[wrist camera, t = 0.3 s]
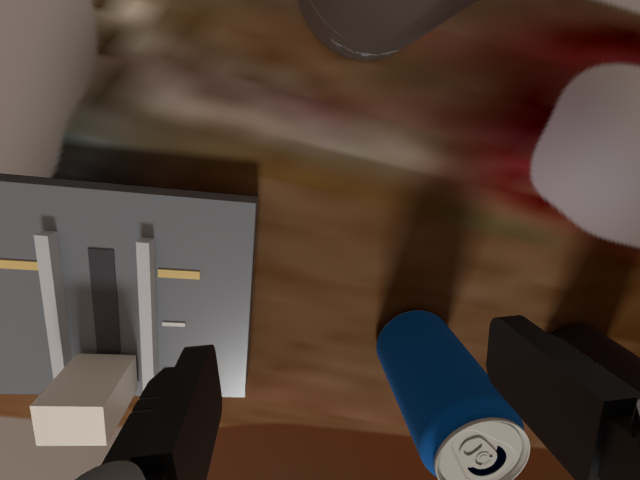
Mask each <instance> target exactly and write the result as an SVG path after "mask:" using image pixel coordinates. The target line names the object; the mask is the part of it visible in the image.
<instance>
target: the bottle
mask: <svg viewBox="0 0 640 480" xmlns="http://www.w3.org/2000/svg"><path fill="white" fill-rule="evenodd" d="M552 335H555V336H557V337H559V338H561V339H564V340H565V341H566V342H568V343H569V344H571V345H572V346H574V347H575V348H577V349H578V350H579V351H580V353H584V354H585V355H587V356H588V357H590V358H591V359H592V360H593V362H594V363H598V364H600V365H601V366H602V367H604V368H605V369H607V370H608V371H610V372H611V373H613V374H614V375H615V376H617V377H618V378H620V379H621V380H623V381H624V382H626V383H627V384H628V385H630V386H631V387H633V388H634V389H636V390H637V391H639V392H640V358H639V357H638V356H636V355H635V354H633V353H632V352H630V351H629V350H627V349H626V348H624V347H622V346H621V345H619V344H618V343H616V342H615V341H613V340H612V339H610V338H609V337H607V336H605V335H604V334H602V333H601V332H599V331H598V330H596V329H595V328H593V327H591V326H586V325H581V324H578V325H570V326H567V327H565V328H562V329H560V330H558V331H556V332H555V333H553V334H552Z"/></svg>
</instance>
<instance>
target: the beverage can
mask: <svg viewBox="0 0 640 480" xmlns="http://www.w3.org/2000/svg"><path fill="white" fill-rule="evenodd" d="M377 354H378V357H379V360H380V362H381V365H382V367H383V369H384V372H385V374H386V376H387V379H388V381H389V384H390V386H391V388H392V391H393V393H394V395H395V398H396V400H397V403H398V405H399V407H400V410H401V412H402V415H403V417H404V419H405V422H406V424H407V426H408V429H409V431H410V434H411V436H412V438H413V441H414V443H415V445H416V447H417V450H418V452H419V455H420V457H421V459H422V462H423V464H424V465H425V466H426V468H427V469H428V470H429V471H430V472H431V473H432V474H433V475H435V476H436V477H437V478H438V480H513V479H514V478H515V477H516V476H518V474H519V473H520V472H521V471H522V469H523V468H524V466H525V465H526V463H527V461H528V458H529V454H530V442H529V439H528V436H527V435H526V433H525V431H524V425H523V422H522V419H521V417H520V416H519V415H518V414H517V413H516V412H515V410H514V409H513V408H512V407H511V406H510V405H509V404H508V402H507V401H506V400H505V399H504V398H503V397H502V396H501V394H500V393H499V392H498V391H497V390H496V389H495V388H494V386H493V385H492V383H491V381H490V379H489V377H488V374H487V373H486V372H485V371H484V370H483V368H482V367H481V366H480V365H479V364H478V362H477V361H476V360H475V359H474V358H473V356H472V355H471V354H470V353H469V352H468V350H467V349H466V348H465V347H464V346H463V344H462V343H461V342H460V341H459V340H458V338H457V337H456V336H455V335H454V333H453V332H452V331H451V330H450V329H449V327H448V326H447V325H446V324H445V323H444V321H443V320H442V319H441V318H440V317H438V316H437V315H435V314H433V313H431V312H428V311H423V310H414V311H408V312H405V313H402V314H400V315H398V316H396V317H394V318H393V319H392V320H390V321H389V322H388V323H387V324H386V325H385V326H384V328H383V329H382V331H381V332H380V335H379V337H378V340H377Z"/></svg>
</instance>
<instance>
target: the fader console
mask: <svg viewBox="0 0 640 480" xmlns="http://www.w3.org/2000/svg"><path fill="white" fill-rule="evenodd" d="M257 208H258V197H257V196H246V195H235V194H223V193H212V192H201V191H190V190H179V189H168V188H156V187H145V186H134V185H123V184H112V183H101V182H89V181H78V180H67V179H56V178H43V177H33V176H22V175H11V174H0V394H41V393H42V392H43V391H44V390H45V389H46V387H47V386H48V385H49V384H50V383H51V382H52V381H53V380H54V378H55V377H56V376H57V375H58V374H59V373H60V372H61V371H62V370H63V368H64V367H65V366H66V365H67V364H68V363H69V362H70V361H71V360H72V358H73V357H74V356H75V355H76V354H112V355H136V368H137V387H138V389H137V391H136V393H135V394H134V396H141V394H142V392H143V390H144V388H145V387H146V385H147V383H148V382H149V381H150V380H151V379H152V378H153V377H154V376H155V375H156V374H158V373H159V372H160V371H161V370H162V369H163V368H169V367H175V365H176V363H177V361H178V359H179V357H180V354H181V352H182V350H183V349H184V347H190V346H200V345H210V344H213V345H214V347H215V351H216V357H217V364H218V371H219V378H220V385H221V392H222V397H245V391H246V384H247V375H248V358H249V341H250V325H251V308H252V291H253V275H254V258H255V241H256V224H257Z"/></svg>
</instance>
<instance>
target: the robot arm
mask: <svg viewBox="0 0 640 480" xmlns="http://www.w3.org/2000/svg"><path fill="white" fill-rule="evenodd" d="M477 1H479V0H298V2H299V5H300V9H301V12H302V14H303V16H304V18H305V20H306V22H307V24H308V26H309V27H310V29H311V30H312V31H313V33H314V34H315V35H316V37H317V38H318V39H319V40H320V41H321V42H322V43H324V44H325V45H326V46H327V47H328V48H329V49H331V50H332V51H334V52H336V53H338V54H340V55H342V56H344V57H348V58H351V59H355V60H375V59H380V58H385V57H387V56H389V55H391V54H393V53H396V52H398V51H399V50H401V49H403V48H404V47H406V46H407V45H409V44H410V43H412V42H414V41H415V40H417V39H419V38H420V37H422V36H424V35H425V34H427V33H428V32H430V31H431V30H433V29H435V28H436V27H438V26H439V25H441V24H442V23H444V22H446V21H447V20H449V19H450V18H452V17H453V16H455V15H457V14H458V13H460V12H461V11H463V10H464V9H466V8H468V7H469V6H471V5H472V4H474V3H475V2H477ZM486 368H487V373H488V377H489V379H490V381H491V383H492V385H493V386H494V388H495V389H496V390H497V391H498V392H499V393H500V394H501V396H502V397H503V398H504V399H505V400H506V401H507V402H508V404H509V405H510V406H511V407H512V408H513V409H514V410H515V412H516V413H517V414H518V415H519V416H520V417H521V419H522V420H523V421H524V422H525V423H526V424H527V425H528V427H529V428H530V429H531V430H532V431H533V432H534V433H535V435H536V436H537V437H538V438H539V439H540V440H541V441H542V443H543V444H544V445H545V446H546V447H547V448H548V449H549V451H550V452H551V453H552V454H553V455H554V456H555V457H556V458H557V460H558V461H559V462H560V463H561V464H562V465H563V467H564V468H565V469H566V470H567V471H568V472H569V473H570V475H571V476H572V477H573V478H574V479H575V480H640V392H639V391H637V390H636V389H634V388H633V387H631V386H630V385H628V384H627V383H626V382H624V381H623V380H621V379H620V378H618V377H617V376H615V375H614V374H613V373H611V372H610V371H608V370H607V369H605V368H604V367H602V366H601V365H600V364H598V363H594V362H593V360H592V359H591V358H590V357H588V356H587V355H585V354H584V353H580V351H579V350H578V349H577V348H575V347H574V346H572V345H571V344H569V343H568V342H566V341H565V340H564V339H561V338H559V337H557V336H555V335H552V334H550V333H548V332H545V331H543V330H542V329H541V328H539V327H538V326H536V325H535V324H533V323H532V322H531V321H529V320H528V319H526V318H525V317H523V316H521V315H516V316H506V317H496V318H493V319H492V321H491V323H490V328H489V340H488V351H487V362H486ZM221 412H222V392H221V385H220V378H219V371H218V364H217V357H216V351H215V347H214V345H213V344H210V345H200V346H190V347H184V349H183V350H182V352H181V354H180V357H179V359H178V361H177V363H176V365H175V367H169V368H163V369H162V370H161V371H160V372H159V373H158V374H156V375H155V376H154V377H153V378H152V379H151V380H150V381H149V382H148V383H147V385H146V387H145V388H144V390H143V392H142V394H141V396H140V400H138V401H137V403H136V404H135V406H134V408H133V410H132V413H131V414H130V415H129V417H128V419H127V420H126V422H125V424H124V426H123V427H122V429H121V431H120V433H119V434H118V437H117V438H116V440H115V442H114V443H113V445H112V447H111V449H110V450H109V452H108V454H107V456H106V457H105V459H104V461H103V463H102V464H101V465H100V466H97V467H95V468H93V469H91V470H89V471H87V472H86V473H84V474H82V475H81V476H79V477H78V478H77V479H75V480H207V476H208V471H209V467H210V463H211V458H212V453H213V449H214V445H215V440H216V436H217V432H218V427H219V423H220V419H221Z"/></svg>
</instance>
